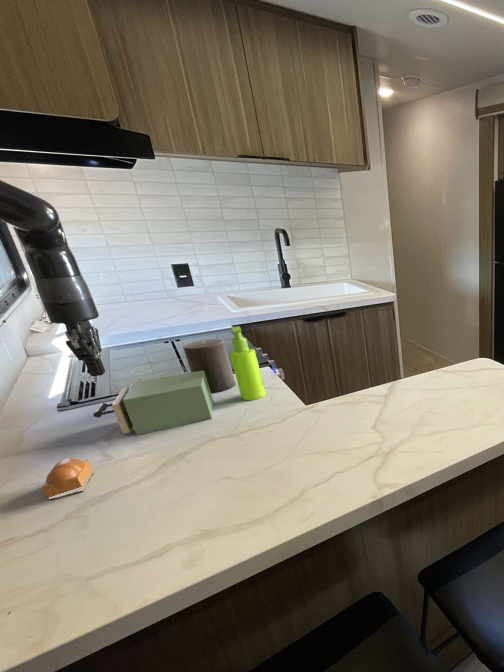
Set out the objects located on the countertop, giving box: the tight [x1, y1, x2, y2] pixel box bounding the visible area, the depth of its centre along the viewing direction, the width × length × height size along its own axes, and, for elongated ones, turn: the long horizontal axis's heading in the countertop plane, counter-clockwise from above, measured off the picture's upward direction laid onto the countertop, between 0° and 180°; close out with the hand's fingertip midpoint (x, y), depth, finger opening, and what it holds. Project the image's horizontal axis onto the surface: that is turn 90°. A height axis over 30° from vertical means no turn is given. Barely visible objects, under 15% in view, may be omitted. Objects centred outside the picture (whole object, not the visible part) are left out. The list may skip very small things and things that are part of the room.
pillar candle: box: [183, 338, 237, 394], centre depth 117 cm, size 10×10×15 cm
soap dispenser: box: [229, 325, 267, 401], centre depth 109 cm, size 6×7×20 cm
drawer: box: [93, 387, 133, 434], centre depth 98 cm, size 18×12×7 cm
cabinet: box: [123, 370, 214, 436], centre depth 100 cm, size 15×13×9 cm
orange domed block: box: [41, 457, 94, 499], centre depth 74 cm, size 5×8×5 cm, turn 33°
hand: (98, 374), depth 91 cm, fingers closed
